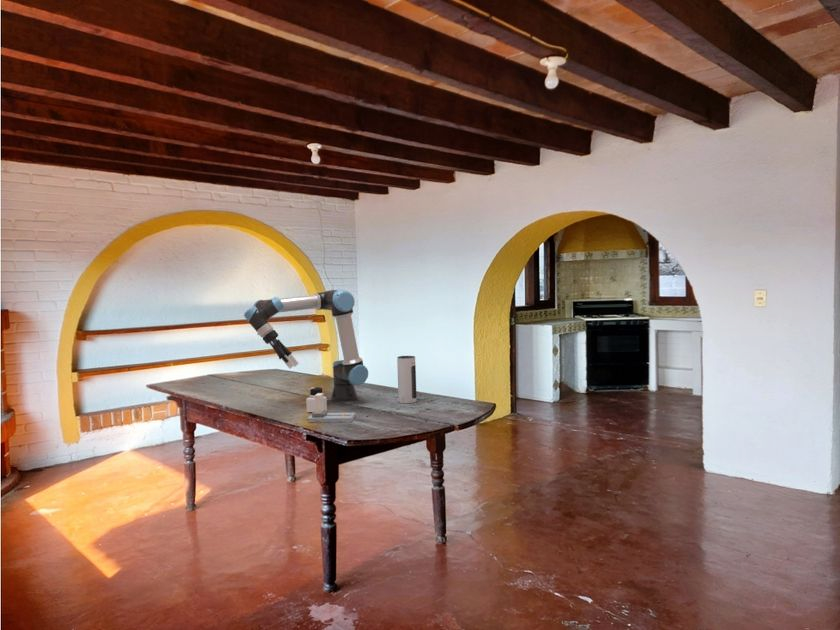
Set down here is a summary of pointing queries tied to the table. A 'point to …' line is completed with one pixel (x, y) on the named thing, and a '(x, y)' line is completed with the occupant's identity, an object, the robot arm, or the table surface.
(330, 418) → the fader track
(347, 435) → the table surface
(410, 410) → the table surface
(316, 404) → the fader
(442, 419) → the table surface
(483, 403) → the table surface
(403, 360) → the speaker
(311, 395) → the container
